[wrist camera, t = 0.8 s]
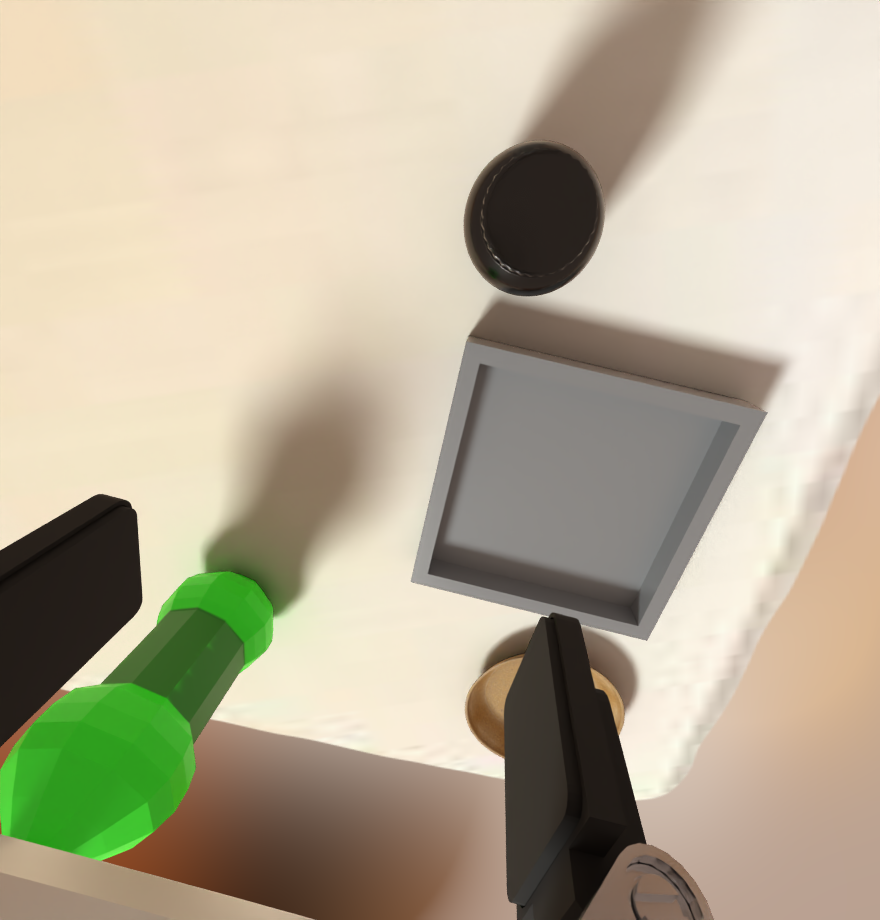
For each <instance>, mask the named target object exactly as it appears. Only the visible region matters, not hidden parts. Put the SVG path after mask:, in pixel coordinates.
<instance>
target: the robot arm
mask: <svg viewBox="0 0 880 920" xmlns="http://www.w3.org/2000/svg"><path fill="white" fill-rule="evenodd" d="M141 604H142V584H141V569H140V554H139V539H138V524H137V514H136V511H135V510H134V509H132V506H131V504H130V502H129V501H126V500H123V499H119V498H116V497H112V496H108V495H104V494H98V495H95V496H93V497H91V498H90V499H88V500H86V501H84V502H83V503H81V504H79V505H78V506H76V507H74V508H72V509H71V510H69V511H67V512H65V513H64V514H62V515H60V516H59V517H57V518H55V519H53V520H52V521H50V522H48V523H47V524H45V525H43V526H41V527H40V528H38V529H36V530H35V531H33V532H31V533H29V534H28V535H26V536H24V537H23V538H21V539H19V540H17V541H16V542H14V543H12V544H11V545H9V546H7V547H5V548H4V549H2V550H0V747H1V746H2V745H3V744H4V743H5V742H6V741H7V740H8V739H9V738H10V737H11V736H12V735H13V734H14V733H15V732H16V731H17V730H18V729H19V728H20V727H21V726H22V725H23V724H24V723H25V722H26V721H27V720H28V719H29V718H31V716H33V715H34V713H36V712H37V711H38V710H39V709H40V708H41V707H42V706H43V705H44V704H45V703H46V702H47V701H48V700H49V699H50V698H51V697H52V696H53V695H54V694H55V693H56V692H57V691H58V690H59V689H60V688H61V687H62V686H63V685H64V684H65V683H66V682H67V681H68V680H69V679H70V678H71V677H72V676H73V675H74V674H75V673H76V672H78V671H79V670H80V669H81V668H82V667H83V666H84V665H85V664H86V663H87V662H88V661H89V660H90V659H91V658H92V657H93V656H94V655H95V654H96V653H97V652H98V651H99V650H100V649H101V648H102V647H103V646H104V645H105V644H106V643H107V642H108V641H109V640H110V639H111V638H112V637H113V636H114V635H115V634H116V633H117V632H118V631H119V630H120V629H121V628H122V627H123V626H124V625H126V624H127V623H128V622H129V621H130V620H131V619H132V618H133V617H134V616H135V614H136V613H137V612H138V610H139V609H140V606H141ZM504 749H505V806H506V807H505V808H506V863H507V895H508V899H509V901H510V902H511V903H515V904H517V920H714V919H713V916H712V913H711V911H710V908H709V906H708V903H707V900H706V899H705V897H704V895H703V894H702V892H701V890H700V889H699V887H698V885H697V884H696V882H695V881H694V879H693V878H692V877H691V876H690V875H689V873H688V872H687V871H686V870H685V869H684V867H683V866H682V865H681V864H680V863H678V862H677V861H676V860H675V859H674V858H672V857H671V856H670V855H669V854H668V853H666V852H664V851H662V850H660V849H658V848H656V847H654V846H652V845H647V844H646V840H645V836H644V832H643V828H642V825H641V821H640V817H639V813H638V809H637V805H636V801H635V797H634V794H633V790H632V786H631V782H630V778H629V774H628V770H627V766H626V763H625V759H624V755H623V751H622V747H621V743H620V739H619V735H618V732H617V728H616V724H615V720H614V716H613V712H612V708H611V704H610V701H609V698H608V696H607V694H606V693H605V692H604V691H603V690H600V689H597V688H595V686H594V681H593V677H592V673H591V668H590V664H589V660H588V655H587V651H586V647H585V642H584V638H583V634H582V629H581V625H580V622H579V620H578V619H577V618H573V617H569V616H566V615H562V614H558V613H554V612H552V613H551V614H550V615H549V617H548V618H547V617H541V618H540V620H539V622H538V624H537V627H536V629H535V631H534V634H533V636H532V638H531V641H530V643H529V645H528V648H527V650H526V652H525V654H524V657H523V659H522V661H521V664H520V666H519V668H518V671H517V673H516V675H515V678H514V680H513V682H512V685H511V687H510V689H509V692H508V694H507V697H506V700H505V706H504ZM0 920H314V919H310V918H307V917H303V916H300V915H296V914H293V913H289V912H285V911H282V910H278V909H274V908H271V907H267V906H264V905H260V904H256V903H252V902H249V901H246V900H242V899H238V898H235V897H231V896H228V895H224V894H220V893H216V892H213V891H209V890H205V889H202V888H198V887H194V886H190V885H187V884H183V883H180V882H176V881H172V880H168V879H165V878H161V877H158V876H154V875H150V874H147V873H143V872H139V871H135V870H132V869H128V868H124V867H121V866H117V865H113V864H110V863H106V862H102V861H99V860H95V859H91V858H87V857H84V856H80V855H76V854H73V853H69V852H65V851H62V850H58V849H54V848H50V847H47V846H43V845H39V844H35V843H32V842H28V841H24V840H20V839H16V838H13V837H9V836H5V835H1V834H0Z"/></svg>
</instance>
